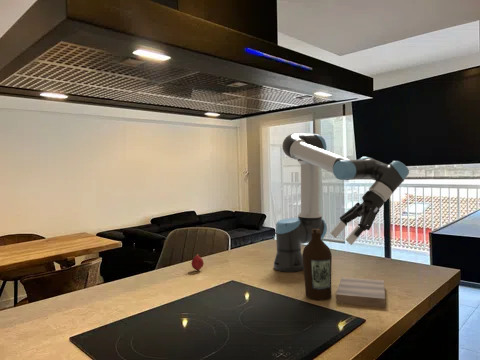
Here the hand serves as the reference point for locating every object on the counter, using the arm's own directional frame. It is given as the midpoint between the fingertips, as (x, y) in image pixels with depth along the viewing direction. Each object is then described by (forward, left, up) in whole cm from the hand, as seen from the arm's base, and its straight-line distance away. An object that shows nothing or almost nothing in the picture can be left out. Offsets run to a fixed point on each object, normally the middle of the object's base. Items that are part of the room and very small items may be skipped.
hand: (340, 238), depth 130 cm
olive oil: (+4, -8, -21) cm, 23 cm away
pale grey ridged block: (-1, +7, -21) cm, 22 cm away
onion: (-15, -69, -21) cm, 74 cm away
